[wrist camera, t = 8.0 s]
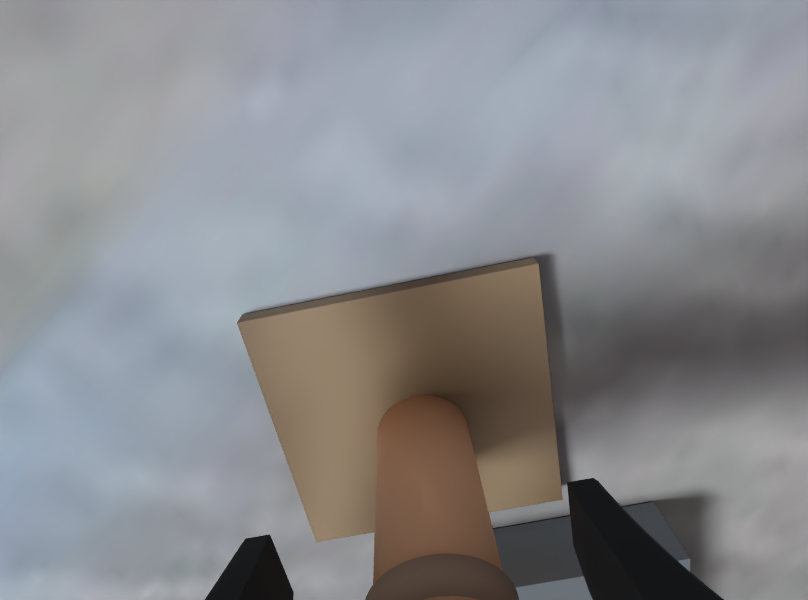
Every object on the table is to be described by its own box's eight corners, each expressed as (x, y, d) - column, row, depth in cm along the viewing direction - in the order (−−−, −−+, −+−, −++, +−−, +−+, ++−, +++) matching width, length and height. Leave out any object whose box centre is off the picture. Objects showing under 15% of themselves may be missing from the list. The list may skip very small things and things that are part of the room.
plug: (384, 483, 18) (383, 711, 11) (359, 401, 16) (342, 606, 10) (481, 464, 17) (538, 685, 11) (464, 380, 16) (516, 574, 10)
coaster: (318, 529, 19) (316, 542, 19) (242, 314, 16) (236, 322, 15) (557, 487, 19) (562, 499, 18) (533, 257, 15) (538, 263, 15)
